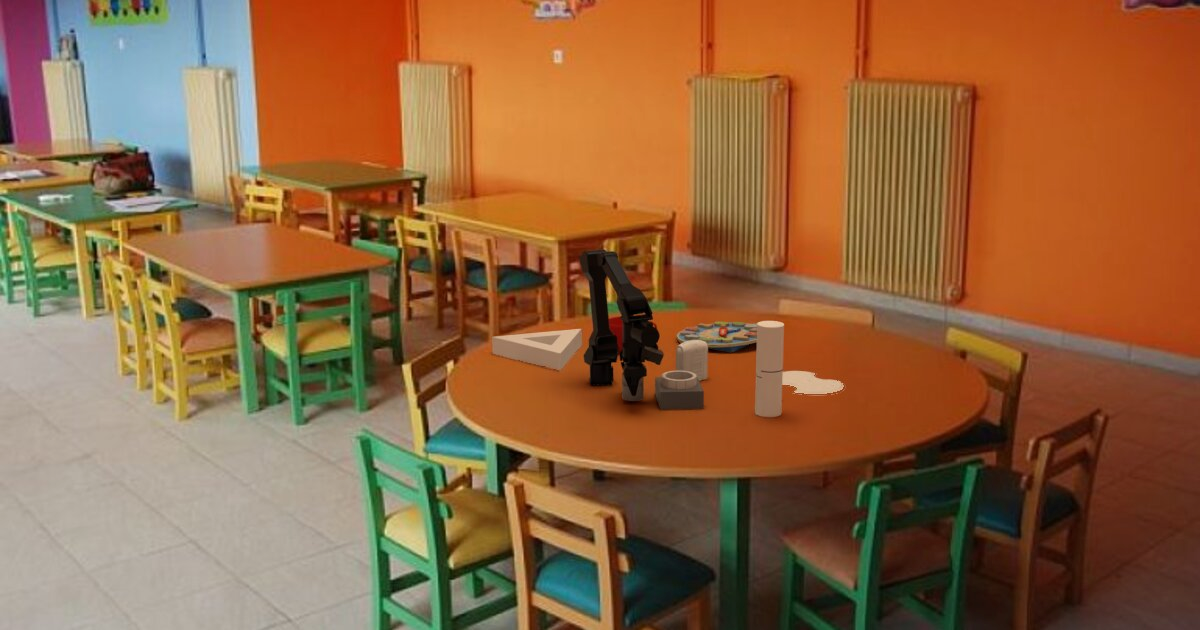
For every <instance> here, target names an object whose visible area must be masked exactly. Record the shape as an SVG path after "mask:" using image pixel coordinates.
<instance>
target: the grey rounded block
mask: <svg viewBox="0 0 1200 630" xmlns="http://www.w3.org/2000/svg"><path fill="white" fill-rule="evenodd" d="M644 379H645V377H642V378H641V379H640V381H639V384H638V388H637V393H636V396H632V395H631V392H630V390H629V387H628V385H627V382H626V380H625V377H624V375H623V372H622V374H621V389H622V390H621V391H622V392H621V398H622V399H623V400H624V401H629V402H635V401H636V402H637V401H641V400H643V399H644V398H645V397H644V392H645V391H644V386H645V385H644Z"/></svg>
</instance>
